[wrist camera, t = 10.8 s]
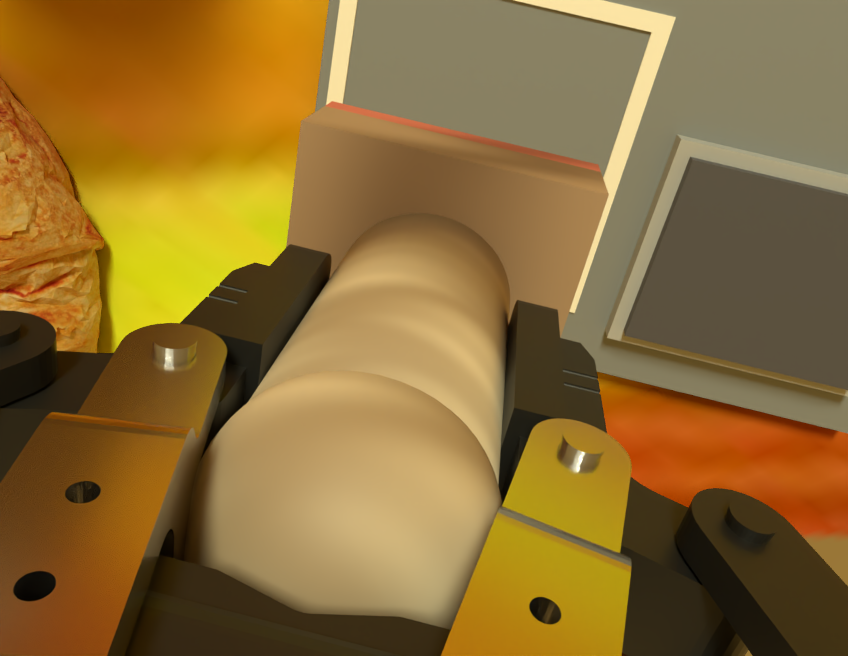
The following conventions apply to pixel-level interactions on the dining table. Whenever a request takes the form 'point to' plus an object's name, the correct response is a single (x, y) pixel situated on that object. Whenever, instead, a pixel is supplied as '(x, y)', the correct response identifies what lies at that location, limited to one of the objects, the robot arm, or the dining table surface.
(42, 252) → the croissant
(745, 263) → the desk board
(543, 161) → the stamp
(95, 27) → the dining table surface
